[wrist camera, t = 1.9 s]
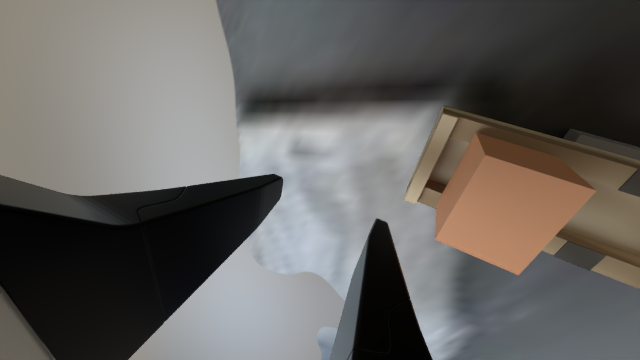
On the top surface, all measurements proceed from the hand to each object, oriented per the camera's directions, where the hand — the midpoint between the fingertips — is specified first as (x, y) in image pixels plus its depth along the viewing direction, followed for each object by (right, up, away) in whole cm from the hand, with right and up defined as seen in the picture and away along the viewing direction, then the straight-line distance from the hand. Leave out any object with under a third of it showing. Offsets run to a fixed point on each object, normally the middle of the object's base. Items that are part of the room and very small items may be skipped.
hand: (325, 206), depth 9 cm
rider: (+10, +1, +6) cm, 12 cm away
